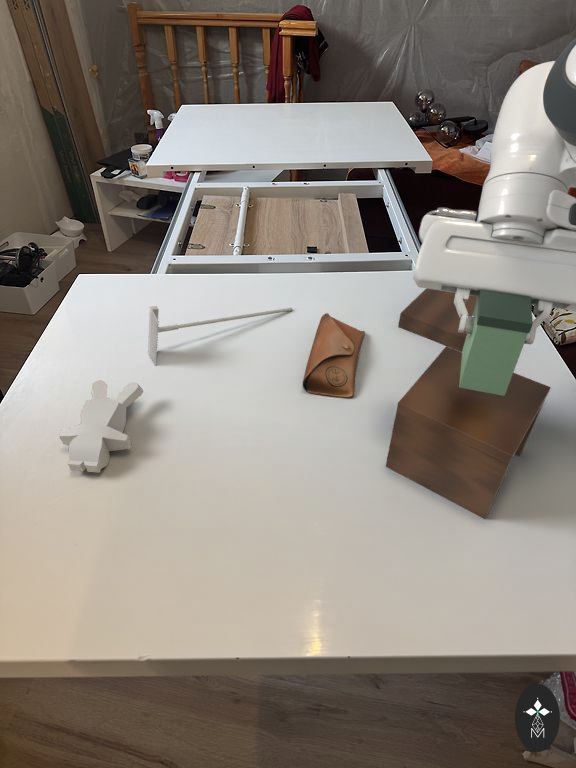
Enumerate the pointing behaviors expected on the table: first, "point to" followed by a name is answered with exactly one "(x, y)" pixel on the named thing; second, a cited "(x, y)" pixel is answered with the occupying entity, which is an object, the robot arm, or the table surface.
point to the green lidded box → (495, 341)
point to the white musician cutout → (99, 428)
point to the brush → (155, 329)
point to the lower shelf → (436, 317)
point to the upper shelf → (462, 433)
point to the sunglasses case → (333, 359)
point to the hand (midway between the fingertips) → (495, 337)
